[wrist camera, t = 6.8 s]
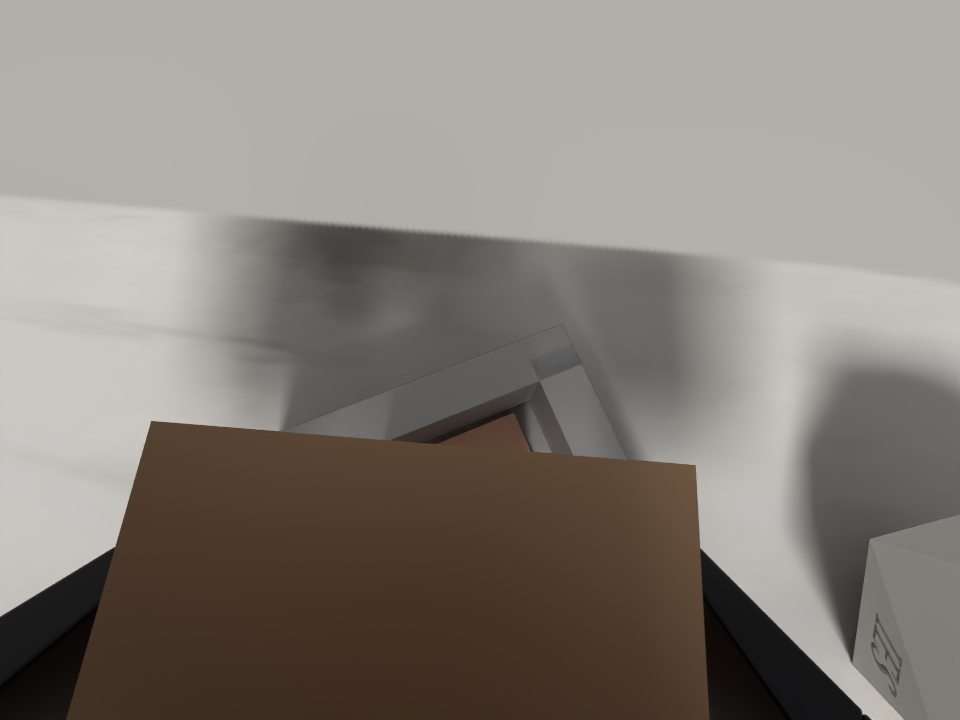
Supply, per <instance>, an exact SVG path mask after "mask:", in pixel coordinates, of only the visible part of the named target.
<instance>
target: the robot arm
mask: <svg viewBox="0 0 960 720" xmlns="http://www.w3.org/2000/svg"><path fill="white" fill-rule="evenodd" d="M114 550H115V547H114V548H112V549H111V550H109V551H107V552H106V553H104V554H102V555H101V556H99V557H98V558H96V559H94V560H93V561H91V562H89V563H88V564H86V565H84V566H83V567H81V568H79V569H78V570H76V571H75V572H73V573H71V574H70V575H68V576H66V577H65V578H63V579H61V580H60V581H58V582H56V583H55V584H53V585H52V586H50V587H48V588H47V589H45V590H43V591H42V592H40V593H38V594H37V595H35V596H33V597H32V598H30V599H29V600H27V601H25V602H24V603H22V604H20V605H19V606H17V607H15V608H14V609H12V610H10V611H9V612H7V613H6V614H4V615H2V616H1V617H0V720H66V719H67V715H68V712H69V708H70V705H71V701H72V698H73V694H74V691H75V687H76V684H77V680H78V677H79V673H80V670H81V666H82V663H83V659H84V656H85V652H86V649H87V645H88V642H89V638H90V635H91V631H92V627H93V624H94V620H95V617H96V613H97V610H98V606H99V603H100V599H101V596H102V592H103V589H104V585H105V582H106V578H107V575H108V571H109V568H110V564H111V561H112V557H113V554H114ZM700 556H701V574H702V593H703V611H704V629H705V648H706V666H707V684H708V703H709V720H871V719H870V718H869V717H868V716H867V715H865V714H863V715H862V710H861V709H860V708H859V707H858V706H857V705H856V704H855V703H854V702H853V701H852V700H851V699H850V698H849V697H848V696H847V695H846V694H845V693H844V692H843V691H842V690H841V689H840V688H839V687H838V686H837V685H836V684H835V683H834V682H833V681H832V680H831V679H830V678H829V677H828V676H827V675H826V674H825V673H824V672H823V671H822V670H821V669H820V668H819V667H818V666H817V665H816V664H815V663H814V662H813V661H812V660H811V659H810V658H809V657H808V656H807V655H806V654H805V653H804V652H803V651H802V650H801V649H800V648H799V647H798V646H797V645H796V644H795V643H794V642H793V641H792V640H791V639H790V638H789V637H788V636H787V635H786V634H785V633H784V632H783V631H782V630H781V629H780V628H779V627H778V626H777V625H776V624H775V623H774V622H773V621H772V620H771V619H770V618H769V617H768V616H767V615H766V614H765V613H764V612H763V611H762V610H761V609H760V608H759V607H758V606H757V605H756V604H755V603H754V601H753V600H752V599H751V598H750V597H749V596H748V595H747V594H746V593H745V592H744V591H743V590H742V589H741V588H740V587H739V586H738V585H737V584H736V583H735V582H734V581H733V580H732V579H731V578H730V577H729V576H728V575H727V574H726V573H725V572H724V571H723V570H722V569H721V568H720V567H719V566H718V565H717V564H716V563H715V562H714V561H713V560H712V559H711V558H710V557H709V556H708V555H707V554H706V553H705V552H704V551H703V550H702V549H701V548H700Z"/></svg>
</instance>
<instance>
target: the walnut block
mask: <svg viewBox="0 0 960 720" xmlns="http://www.w3.org/2000/svg"><path fill="white" fill-rule="evenodd" d="M66 720H709V703H708V684H707V666H706V648H705V629H704V611H703V593H702V574H701V556H700V537H699V519H698V501H697V482H696V465H687V464H674V463H662V462H650V461H637V460H625V459H613V458H600V457H588V456H576V455H563V454H551V453H539V452H526V451H514V450H502V449H489V448H477V447H465V446H452V445H440V444H428V443H415V442H403V441H391V440H378V439H366V438H354V437H341V436H329V435H317V434H304V433H292V432H280V431H267V430H255V429H243V428H230V427H218V426H206V425H193V424H181V423H169V422H156V421H151V424H150V428H149V431H148V435H147V438H146V442H145V445H144V449H143V452H142V456H141V459H140V463H139V466H138V470H137V473H136V477H135V480H134V484H133V487H132V491H131V494H130V498H129V501H128V505H127V508H126V512H125V515H124V519H123V522H122V526H121V529H120V533H119V536H118V540H117V543H116V547H115V550H114V554H113V557H112V561H111V564H110V568H109V571H108V575H107V578H106V582H105V585H104V589H103V592H102V596H101V599H100V603H99V606H98V610H97V613H96V617H95V620H94V624H93V627H92V631H91V635H90V638H89V642H88V645H87V649H86V652H85V656H84V659H83V663H82V666H81V670H80V673H79V677H78V680H77V684H76V687H75V691H74V694H73V698H72V701H71V705H70V708H69V712H68V715H67V719H66Z"/></svg>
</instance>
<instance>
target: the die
mask: <svg viewBox="0 0 960 720" xmlns="http://www.w3.org/2000/svg"><path fill="white" fill-rule="evenodd" d="M852 665H853V666H854V667H855V668H856V669H857V670H858V671H859V672H860V673H861V674H862V675H863V676H864V677H865V678H866V680H867V681H868V682H869V683H870V684H871V685H872V686H873V687H874V688H875V689H876V690H877V691H878V692H879V693H880V694H881V695H882V696H883V698H884V699H885V700H886V701H887V702H888V703H889V704H890V705H891V706H892V707H893V708H894V709H895V710H896V711H897V712H898V713H899V714H900V716H901V717H902V718H903V719H904V720H960V514H959V515H955V516H952V517H948V518H944V519H941V520H937V521H933V522H930V523H926V524H922V525H919V526H915V527H911V528H908V529H904V530H900V531H897V532H893V533H889V534H886V535H882V536H878V537H875V538H871V539H870V541H869V548H868V555H867V562H866V569H865V577H864V584H863V591H862V598H861V605H860V612H859V620H858V627H857V634H856V641H855V648H854V655H853V663H852Z"/></svg>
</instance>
